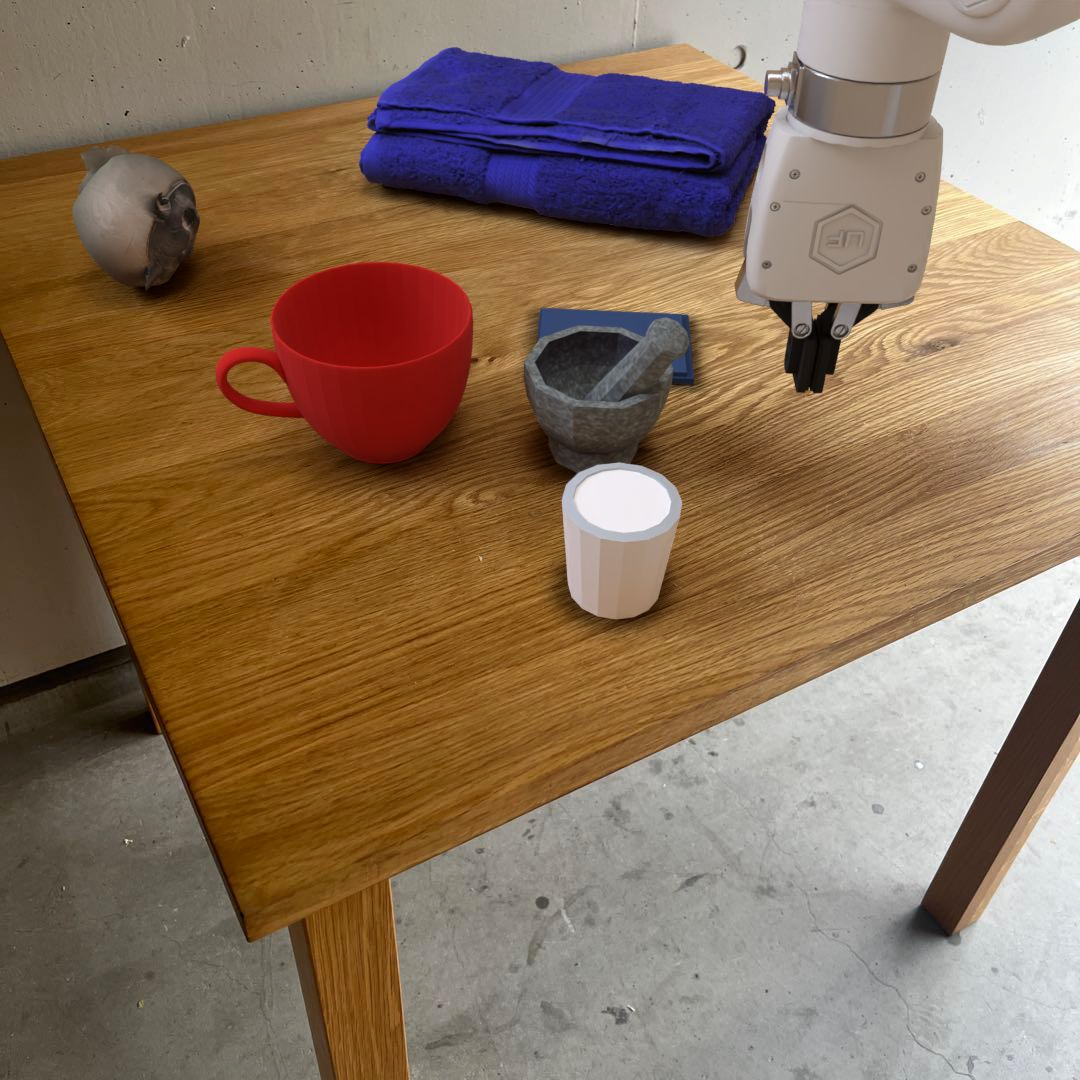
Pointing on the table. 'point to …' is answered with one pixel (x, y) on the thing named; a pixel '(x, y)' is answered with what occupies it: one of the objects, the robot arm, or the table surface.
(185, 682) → the table surface
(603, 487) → the beige tapered cup
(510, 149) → the towel
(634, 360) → the mortar and pestle
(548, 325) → the blue flat slab
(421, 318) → the ceramic cup
